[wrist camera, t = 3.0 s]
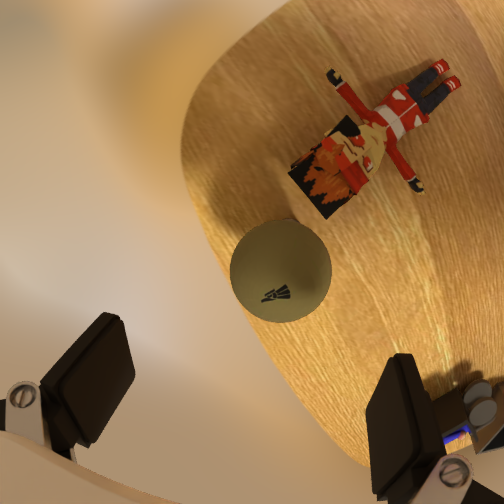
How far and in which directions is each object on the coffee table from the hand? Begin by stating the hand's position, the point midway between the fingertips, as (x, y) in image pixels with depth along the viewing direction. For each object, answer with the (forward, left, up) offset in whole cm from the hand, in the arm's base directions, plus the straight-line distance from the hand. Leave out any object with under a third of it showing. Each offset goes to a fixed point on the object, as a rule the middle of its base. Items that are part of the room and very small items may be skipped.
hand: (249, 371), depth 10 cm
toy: (-6, -9, -15) cm, 19 cm away
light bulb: (0, 0, -15) cm, 15 cm away
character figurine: (-21, +20, -15) cm, 32 cm away
